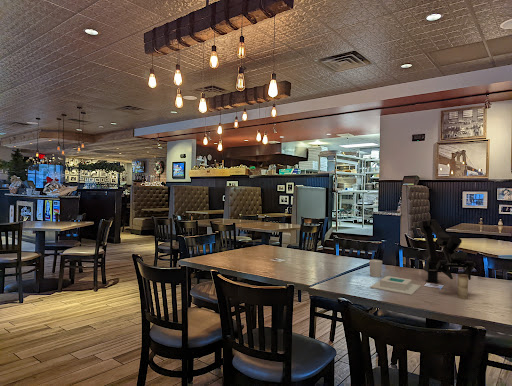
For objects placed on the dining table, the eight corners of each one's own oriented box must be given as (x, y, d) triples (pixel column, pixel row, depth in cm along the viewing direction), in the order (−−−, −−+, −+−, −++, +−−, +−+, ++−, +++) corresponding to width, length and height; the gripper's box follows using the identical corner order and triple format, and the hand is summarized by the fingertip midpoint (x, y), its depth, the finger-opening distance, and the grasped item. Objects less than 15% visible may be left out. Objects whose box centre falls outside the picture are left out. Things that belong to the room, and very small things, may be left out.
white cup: (373, 277, 224) (374, 262, 224) (366, 274, 231) (367, 259, 231) (384, 277, 226) (384, 261, 226) (377, 274, 234) (377, 259, 234)
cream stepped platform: (382, 280, 218) (382, 273, 218) (421, 286, 205) (421, 279, 205) (369, 287, 199) (370, 280, 199) (411, 295, 186) (411, 287, 186)
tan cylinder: (457, 295, 187) (458, 273, 187) (468, 297, 184) (468, 274, 184) (456, 297, 183) (457, 274, 183) (467, 299, 181) (467, 276, 181)
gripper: (438, 245, 192) (448, 270, 180) (474, 246, 191) (486, 271, 180) (432, 257, 199) (441, 281, 188) (465, 258, 199) (476, 283, 187)
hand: (461, 279), depth 186 cm, fingers open, 9 cm apart
